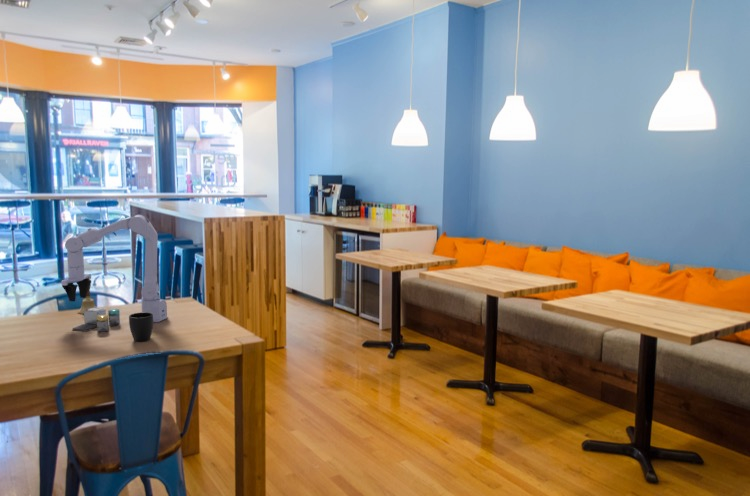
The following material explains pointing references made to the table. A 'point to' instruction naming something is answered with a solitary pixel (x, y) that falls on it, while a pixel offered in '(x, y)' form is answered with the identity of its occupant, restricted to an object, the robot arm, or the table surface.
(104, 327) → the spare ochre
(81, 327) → the pad
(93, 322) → the control box
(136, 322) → the mug
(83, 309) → the hand bell
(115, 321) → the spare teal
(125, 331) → the table surface
